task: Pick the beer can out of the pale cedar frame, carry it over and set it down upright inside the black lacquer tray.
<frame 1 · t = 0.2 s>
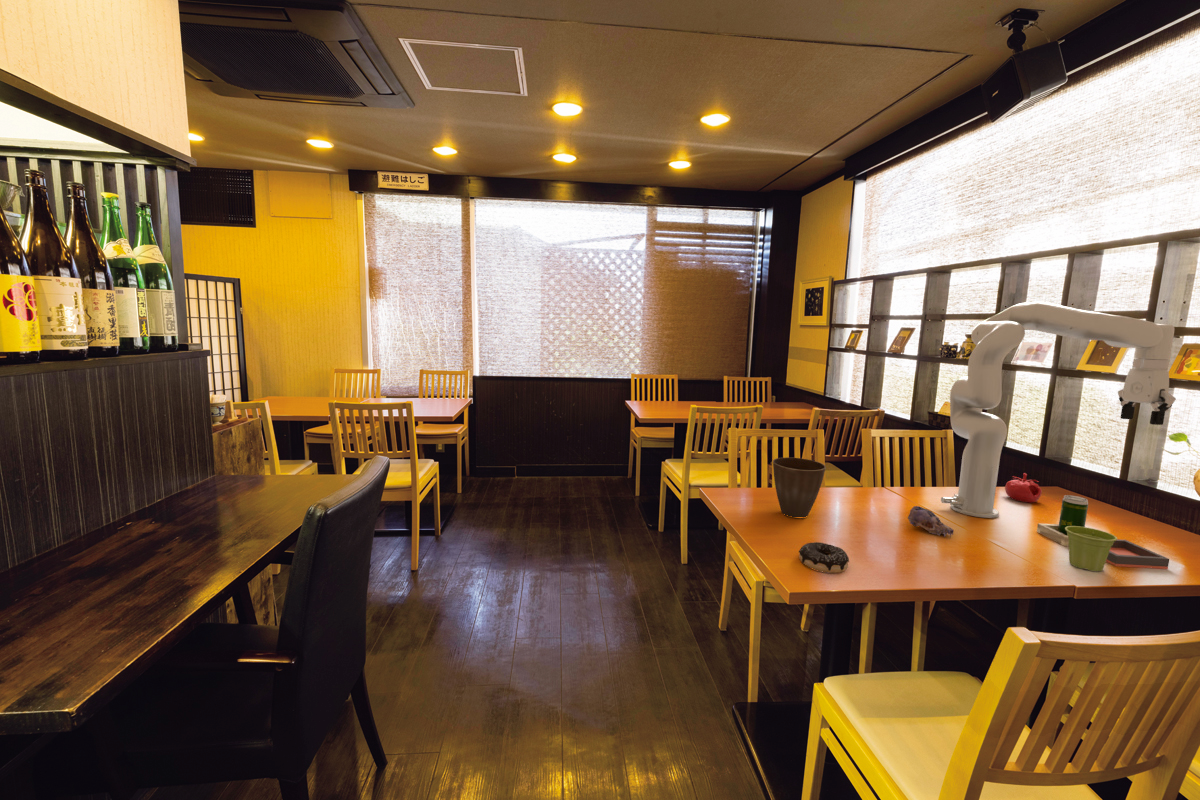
hand: (1140, 421, 162), 31 cm above the table, fingers open, 9 cm apart
skull: (929, 532, 152), on the table
donut: (823, 565, 128), on the table
beer can: (1069, 540, 148), resting in cedar frame
pomegranate: (1021, 500, 184), on the table
cedar frame: (1069, 539, 148), on the table
lacquer tray: (1119, 557, 137), on the table
plant pot: (794, 515, 163), on the table
plant pot 2: (1085, 567, 131), on the table
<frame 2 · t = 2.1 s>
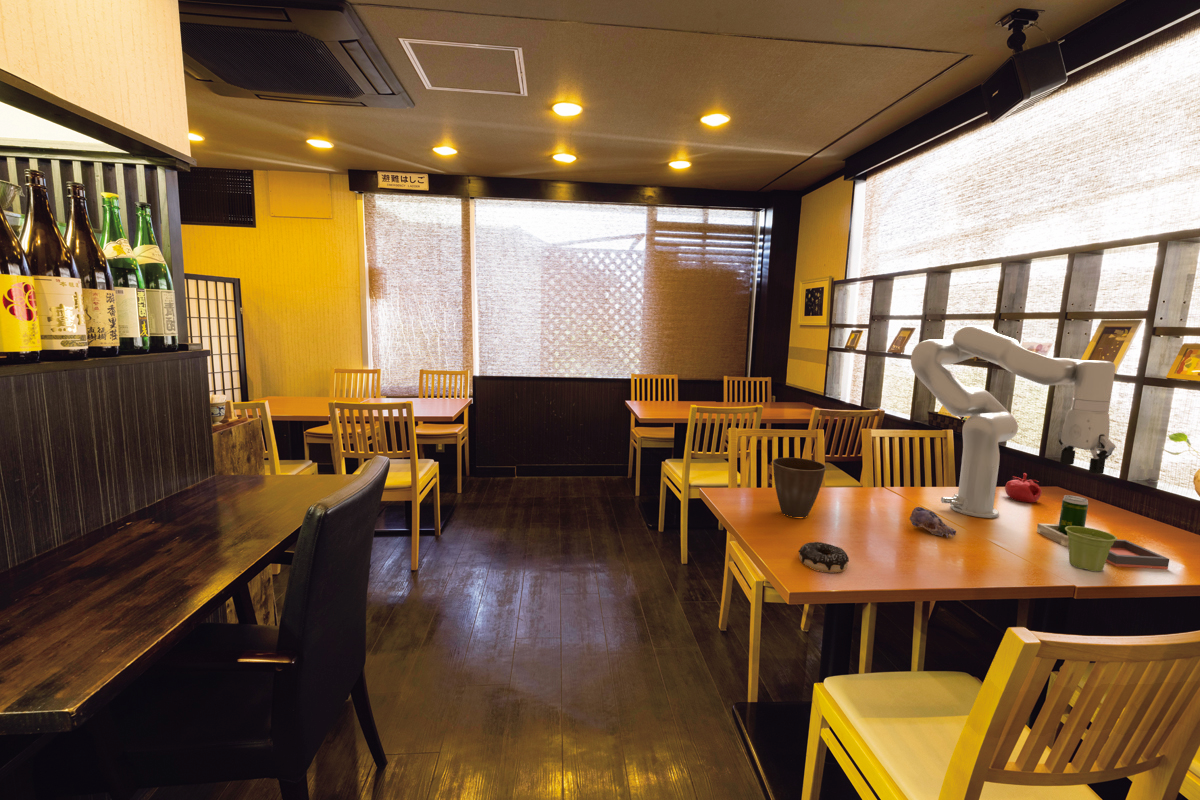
hand: (1080, 468, 146), 20 cm above the table, fingers open, 9 cm apart
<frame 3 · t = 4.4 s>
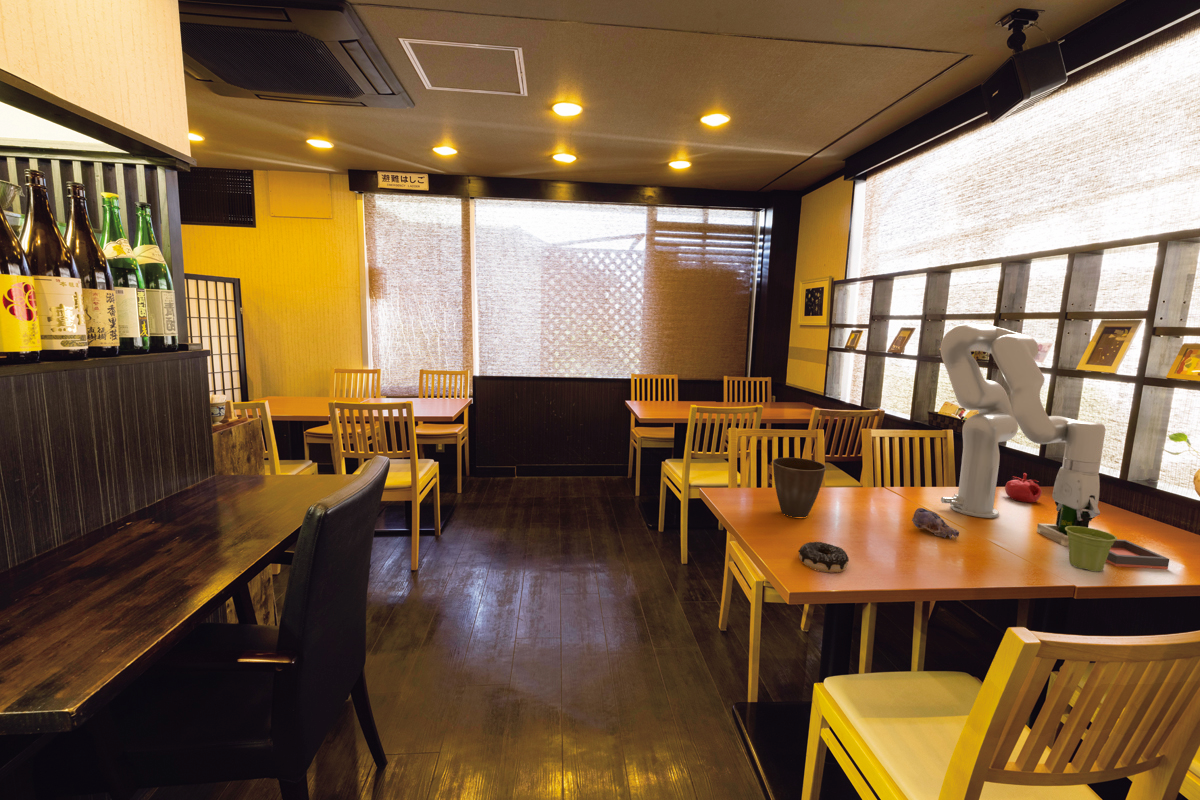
hand: (1071, 529, 148), 3 cm above the table, fingers closed on beer can, 5 cm apart
beer can: (1069, 540, 148), resting in cedar frame, touching gripper
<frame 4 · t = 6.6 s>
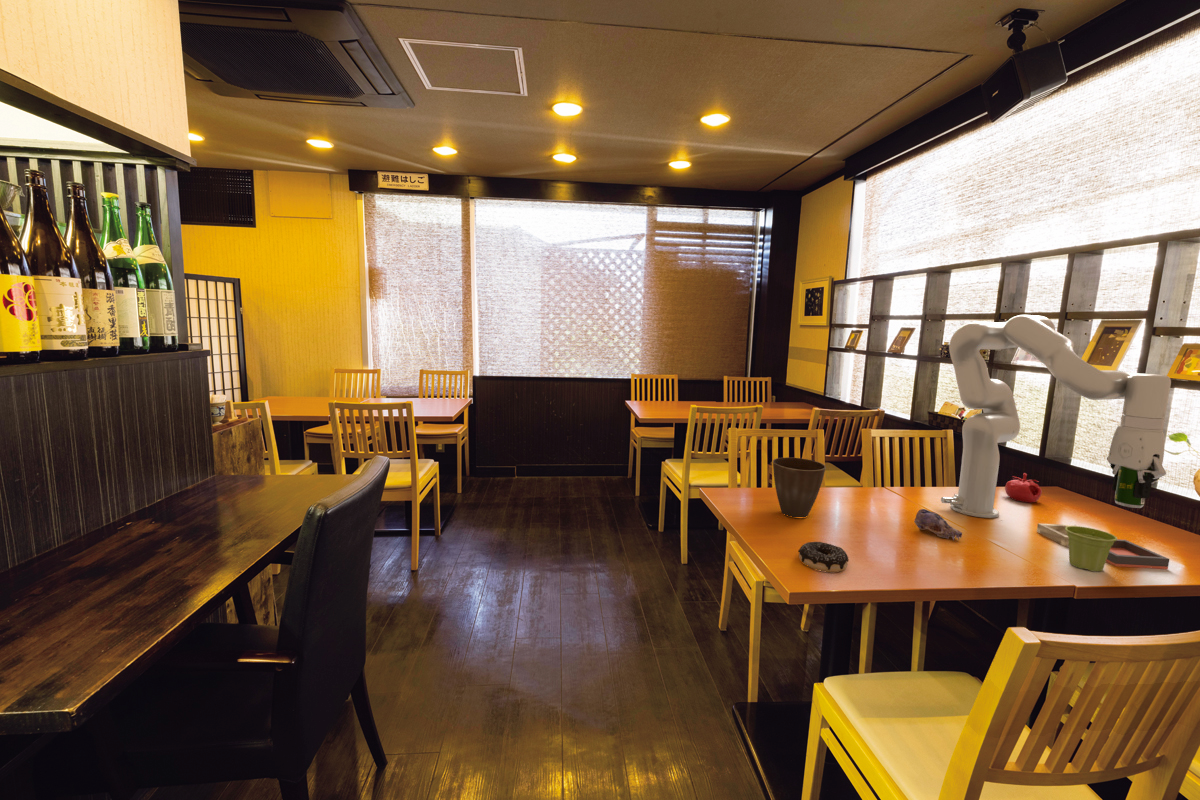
hand: (1130, 493, 135), 17 cm above the table, fingers closed on beer can, 5 cm apart
beer can: (1128, 505, 135), point 14 cm above the table, touching gripper
when the fingers open (6 cm above the table, at t = 8.9 s): beer can drops 2 cm, resting on lacquer tray.
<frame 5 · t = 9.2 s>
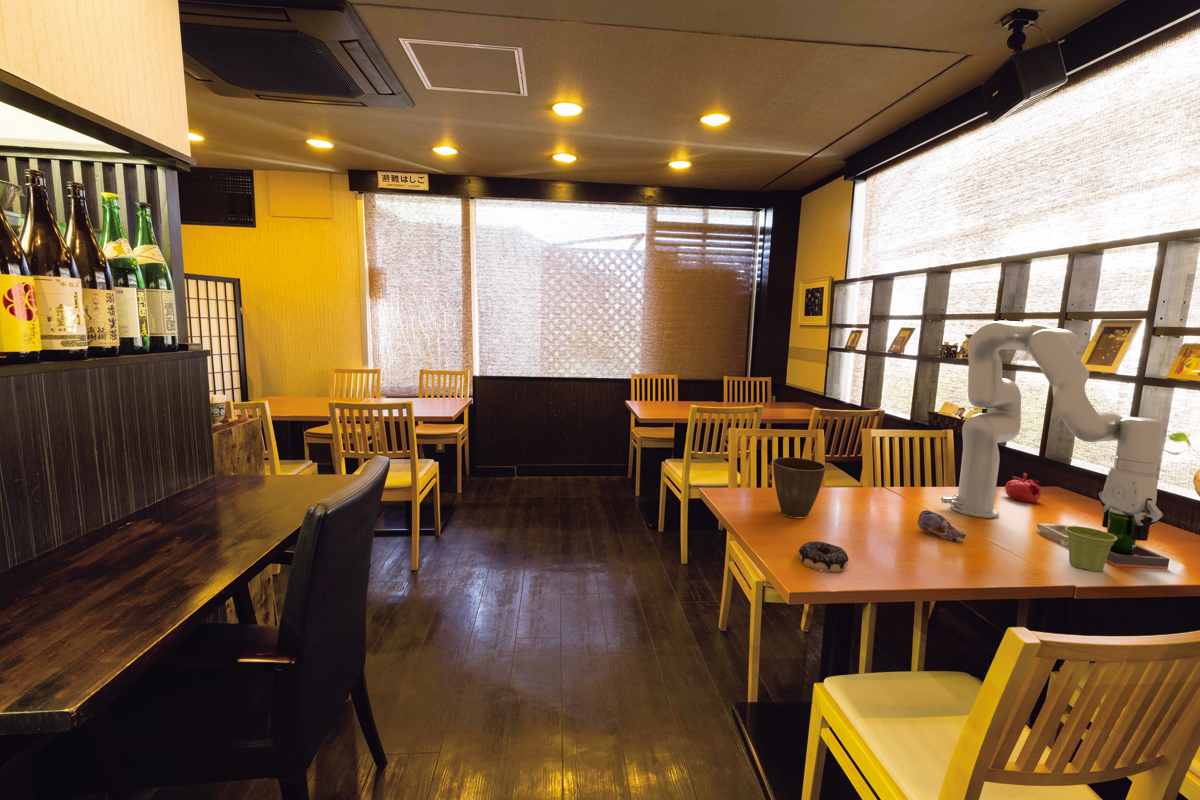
hand: (1123, 533, 136), 6 cm above the table, fingers open, 8 cm apart
beer can: (1119, 555, 137), point 1 cm above the table, touching lacquer tray
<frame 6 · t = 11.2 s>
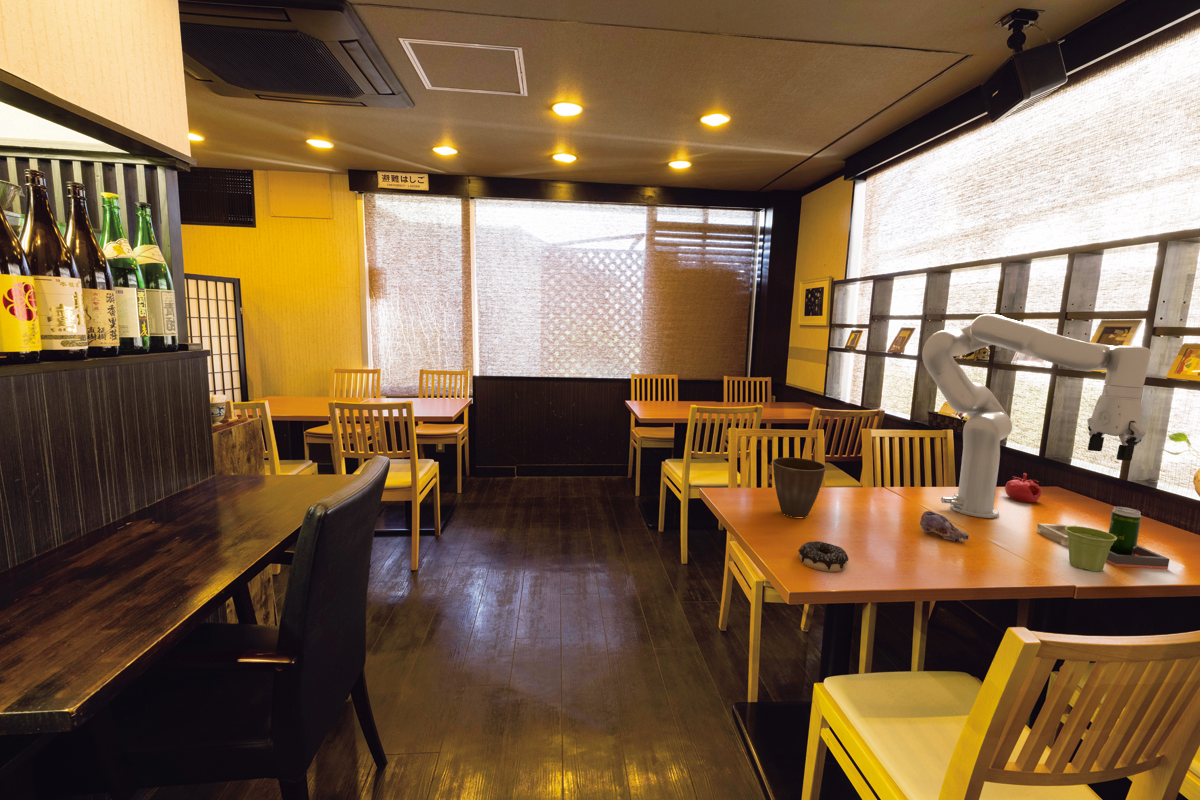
hand: (1108, 455, 144), 24 cm above the table, fingers open, 9 cm apart
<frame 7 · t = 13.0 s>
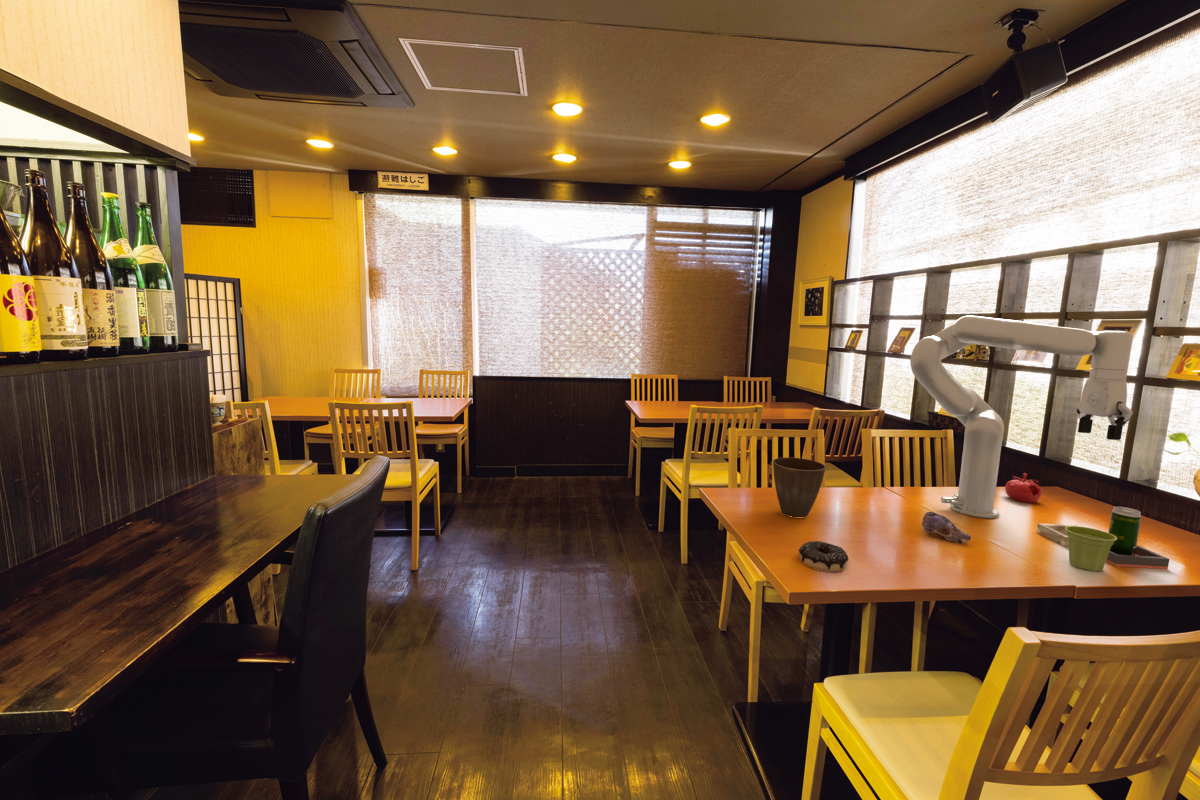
hand: (1098, 436, 151), 28 cm above the table, fingers open, 9 cm apart
at the end: beer can inside the target area on the lacquer tray (0.1 cm from its centre), point 0.4 cm above the lacquer tray's base; beer can tilted 0°; the gripper is holding nothing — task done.
